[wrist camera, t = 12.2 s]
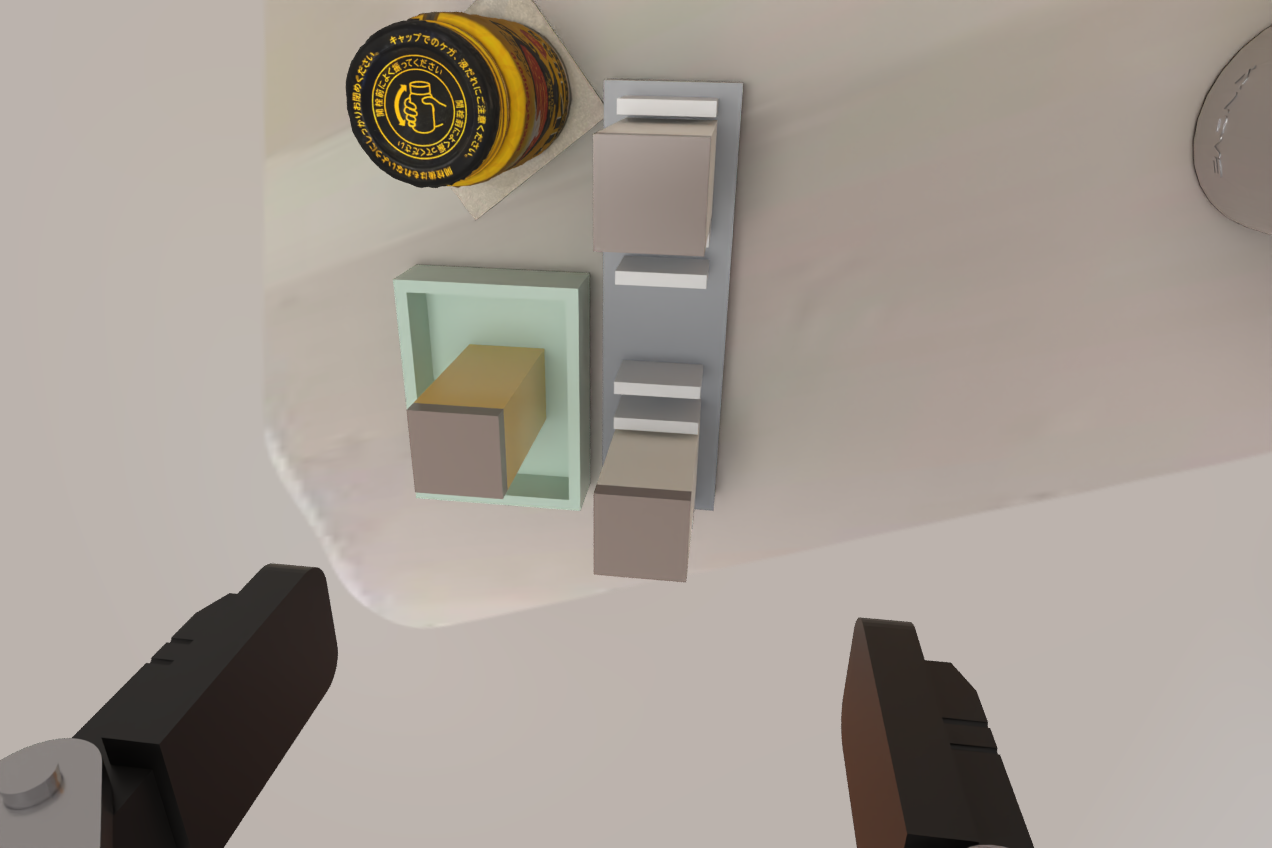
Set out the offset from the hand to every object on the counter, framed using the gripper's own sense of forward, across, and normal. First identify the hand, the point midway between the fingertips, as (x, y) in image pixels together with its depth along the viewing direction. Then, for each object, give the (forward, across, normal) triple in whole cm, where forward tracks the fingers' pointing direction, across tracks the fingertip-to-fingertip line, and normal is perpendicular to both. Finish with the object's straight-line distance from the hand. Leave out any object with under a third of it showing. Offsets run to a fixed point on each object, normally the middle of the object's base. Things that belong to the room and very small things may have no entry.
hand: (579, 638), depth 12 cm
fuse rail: (+30, +1, +3) cm, 30 cm away
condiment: (+30, +10, -6) cm, 32 cm away
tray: (+30, +10, +8) cm, 32 cm away
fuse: (+29, +9, +8) cm, 32 cm away
